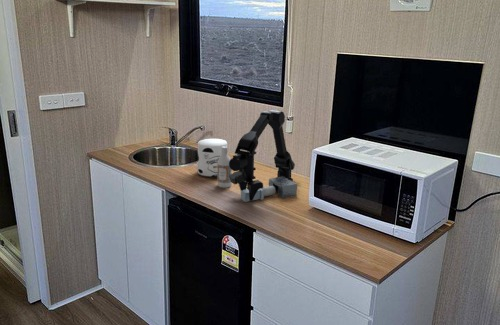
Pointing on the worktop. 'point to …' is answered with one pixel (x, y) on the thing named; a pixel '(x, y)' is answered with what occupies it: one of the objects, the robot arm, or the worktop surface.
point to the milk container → (209, 156)
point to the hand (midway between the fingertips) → (247, 197)
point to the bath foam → (224, 169)
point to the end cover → (258, 193)
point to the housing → (284, 187)
